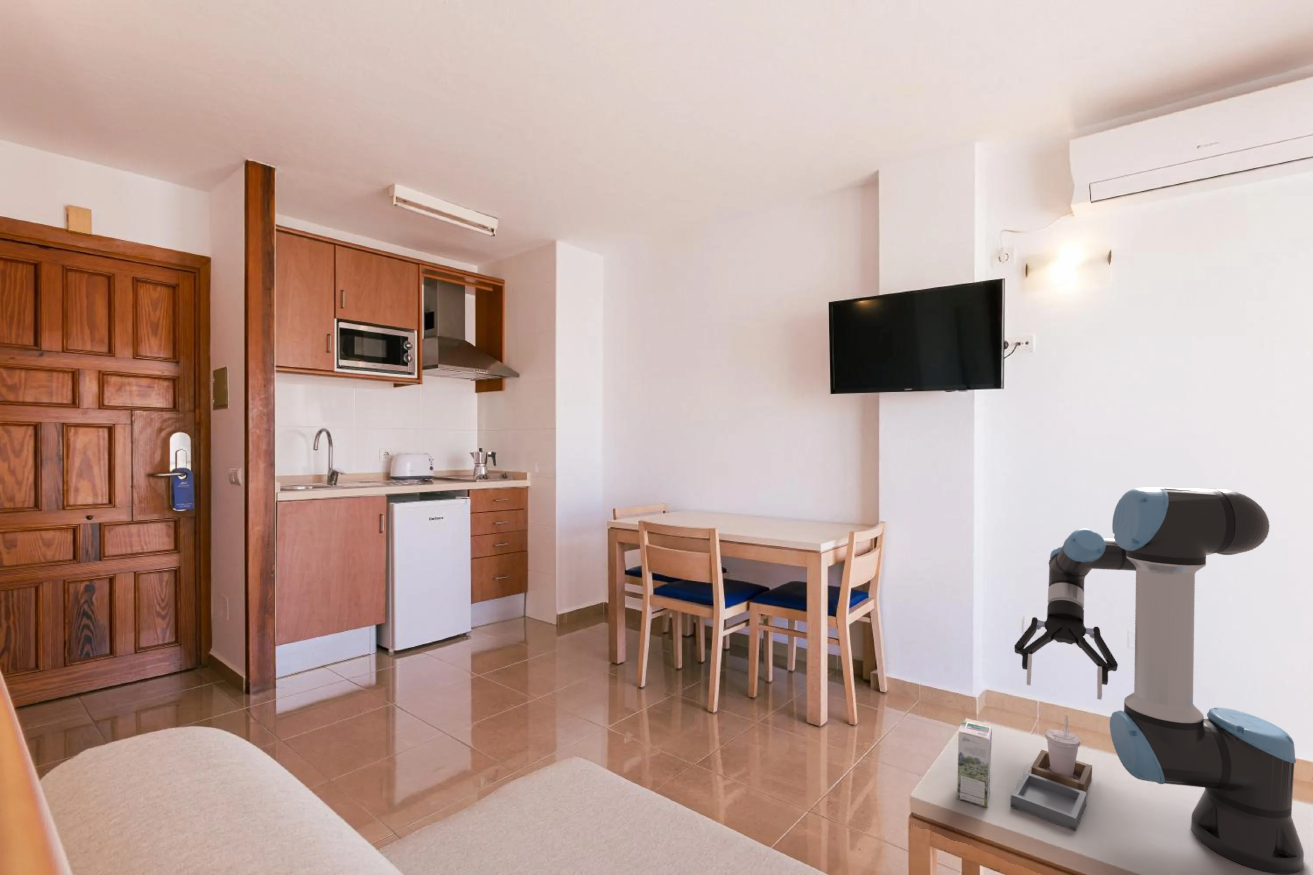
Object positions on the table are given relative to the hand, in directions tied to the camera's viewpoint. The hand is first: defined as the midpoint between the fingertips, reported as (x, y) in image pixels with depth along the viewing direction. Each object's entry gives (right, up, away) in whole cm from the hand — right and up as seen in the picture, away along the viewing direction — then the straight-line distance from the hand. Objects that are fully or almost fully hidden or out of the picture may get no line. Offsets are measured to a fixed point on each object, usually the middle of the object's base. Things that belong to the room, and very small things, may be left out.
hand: (1063, 689), depth 146 cm
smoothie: (-5, -16, -8) cm, 19 cm away
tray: (-13, -17, -17) cm, 27 cm away
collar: (-5, -16, -8) cm, 19 cm away
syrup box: (-27, -17, -14) cm, 35 cm away
